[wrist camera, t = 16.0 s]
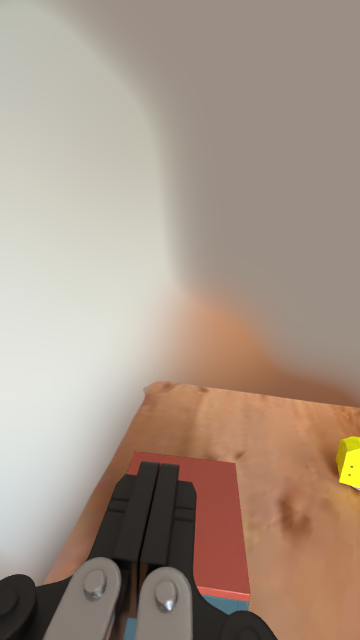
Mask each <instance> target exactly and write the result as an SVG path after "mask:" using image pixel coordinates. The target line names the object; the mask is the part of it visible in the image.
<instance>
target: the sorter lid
mask: <svg viewBox="0 0 360 640" xmlns="http://www.w3.org/2000/svg"><path fill="white" fill-rule="evenodd" d="M141 461H149V462H158V463H160V466H161V463H167V464H176V465H180V471H179V480H181V481H189V482H192V483H193V486H194V488H195V491H196V493H197V502H196V521H195V542H194V562H193V575H194V580H195V584H196V586H197V588H198V590H199V592H200V593H201V594H202V595H209V596H215V597H222V598H228V599H235V600H241V601H248V602H249V600H250V587H249V578H248V570H247V561H246V552H245V544H244V535H243V526H242V518H241V509H240V500H239V492H238V483H237V474H236V466H235V463H230V462H221V461H212V460H204V459H195V458H186V457H178V456H169V455H160V454H152V453H143V452H135V453H134V455H133V458H132V461H131V464H130V467H129V470H128V472H127V474H131V475H137V473H138V470H139V466H140V463H141Z"/></svg>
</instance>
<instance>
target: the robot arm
mask: <svg viewBox="0 0 360 640" xmlns="http://www.w3.org/2000/svg"><path fill="white" fill-rule="evenodd" d="M179 471H180V465H176V464H167V463H161V466H160V463H158V462H149V461H141V463H140V466H139V470H138V473H137V475H131V474H125V475H124V476H123V478H122V479H121V480H120V481H119V482H118V483H117V484H116V486H115V489H114V492H113V494H112V497H111V500H110V502H109V505H108V507H107V511H106V513H105V515H104V518H103V521H102V523H101V526H100V528H99V531H98V534H97V536H96V539H95V542H94V544H93V547H92V550H91V552H90V555H89V557H88V559H87V560H86V562H85V563H84V564H82V565H81V566H80V567H79V568H78V569H77V570H76V572H75V573H74V574H73V575H72V576H70V577H69V578H67V579H65V580H62V581H59V582H55V583H51V584H46V585H42V586H38V587H36V586H35V584H34V582H33V580H32V579H31V578H30V577H28V576H26V575H22V574H16V575H12V576H8V577H6V578H4V579H2V580H0V640H123V639H124V634H125V630H126V625H127V620H128V618H133V619H137V622H136V629H135V637H134V640H278V639H277V638H276V636H275V635H274V634H273V632H272V631H271V629H270V628H269V627H268V625H267V624H266V623H265V622H264V621H263V620H262V619H261V618H260V617H259V616H257V615H256V614H254V613H252V612H249V611H245V610H239V611H235V612H233V613H231V614H230V615H228V614H226V613H224V612H223V611H221V610H219V609H218V608H216V607H214V606H213V605H211V604H210V603H209V602H208V601H206V600H205V599H204V597H203V596H202V595H201V593H200V592H199V590H198V588H197V586H196V584H195V580H194V575H193V562H194V542H195V521H196V502H197V493H196V491H195V488H194V486H193V483H192V482H189V481H181V480H179ZM137 613H138V614H137Z"/></svg>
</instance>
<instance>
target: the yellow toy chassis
mask: <svg viewBox="0 0 360 640" xmlns="http://www.w3.org/2000/svg"><path fill="white" fill-rule="evenodd" d="M335 463H337V464H338V465H337V467H338V472H339V477H340V479H339V482H340V483H344V484H347V485H351V486H352V487H354V488H356V489H358V490H360V438H359V437H355V436H353V437H349V438H345V439H341V440H340V444H339V448H338V452H337V457H336V461H335Z"/></svg>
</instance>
